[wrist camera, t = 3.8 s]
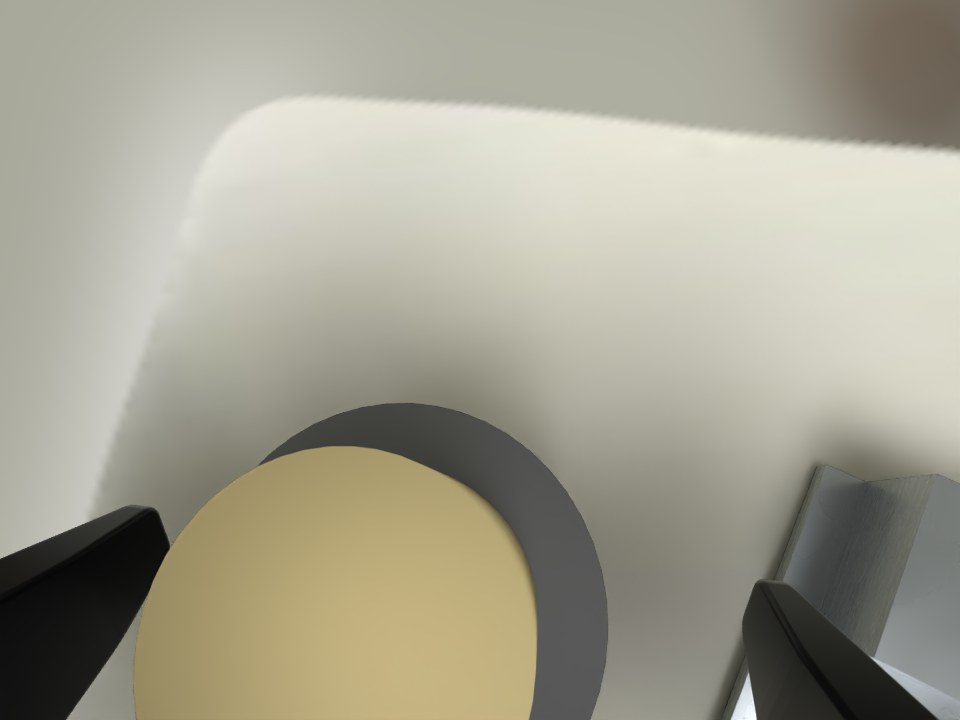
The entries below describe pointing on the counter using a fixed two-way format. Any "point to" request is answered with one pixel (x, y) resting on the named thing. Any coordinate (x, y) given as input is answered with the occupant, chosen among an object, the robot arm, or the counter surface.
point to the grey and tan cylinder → (379, 583)
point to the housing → (881, 579)
